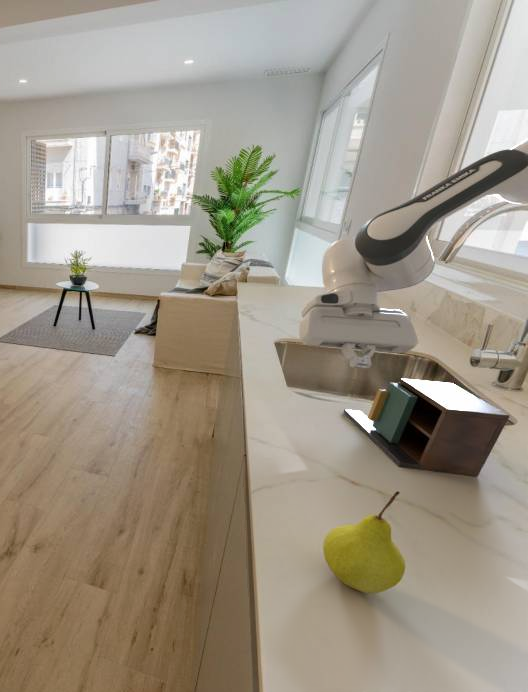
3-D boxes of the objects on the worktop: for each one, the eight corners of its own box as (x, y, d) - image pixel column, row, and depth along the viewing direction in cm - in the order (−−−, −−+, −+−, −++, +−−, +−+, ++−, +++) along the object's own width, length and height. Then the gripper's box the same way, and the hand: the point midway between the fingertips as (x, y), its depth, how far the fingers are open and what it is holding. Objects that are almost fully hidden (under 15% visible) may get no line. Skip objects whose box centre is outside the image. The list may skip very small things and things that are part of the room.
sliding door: (379, 426, 79) (396, 382, 75) (398, 443, 73) (418, 397, 70) (364, 424, 79) (381, 381, 76) (382, 441, 74) (401, 395, 70)
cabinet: (404, 419, 84) (426, 368, 80) (477, 476, 67) (510, 415, 63) (342, 412, 86) (360, 362, 82) (398, 466, 69) (425, 406, 65)
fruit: (355, 614, 44) (396, 524, 39) (300, 562, 50) (331, 479, 45) (405, 601, 46) (451, 512, 41) (346, 552, 52) (380, 470, 47)
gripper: (397, 318, 90) (409, 378, 85) (293, 311, 94) (298, 368, 89) (419, 302, 85) (432, 365, 80) (307, 295, 88) (313, 355, 83)
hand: (360, 366), depth 84 cm, fingers closed
